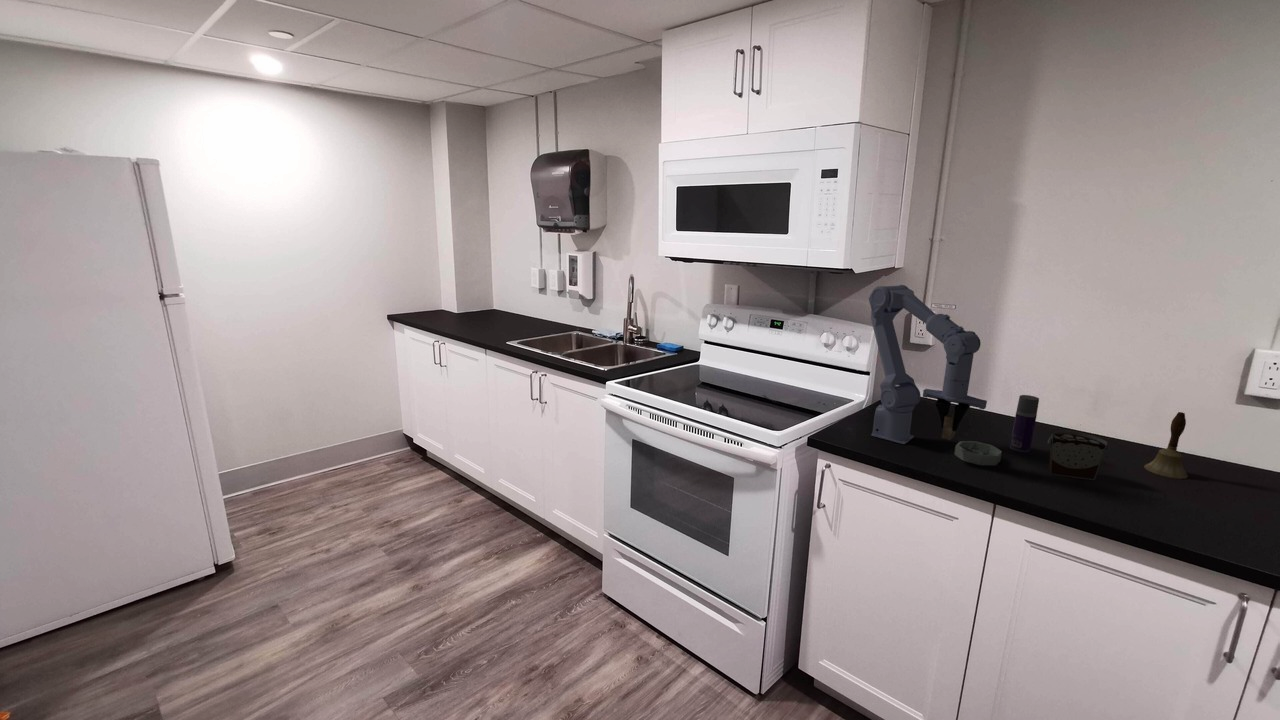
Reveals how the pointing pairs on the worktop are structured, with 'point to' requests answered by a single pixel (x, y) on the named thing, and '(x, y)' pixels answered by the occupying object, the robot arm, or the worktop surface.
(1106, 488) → the worktop surface
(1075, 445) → the food container
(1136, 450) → the worktop surface
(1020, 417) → the container
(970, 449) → the grey shallow bowl
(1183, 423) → the hand bell
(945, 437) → the brown wooden block
